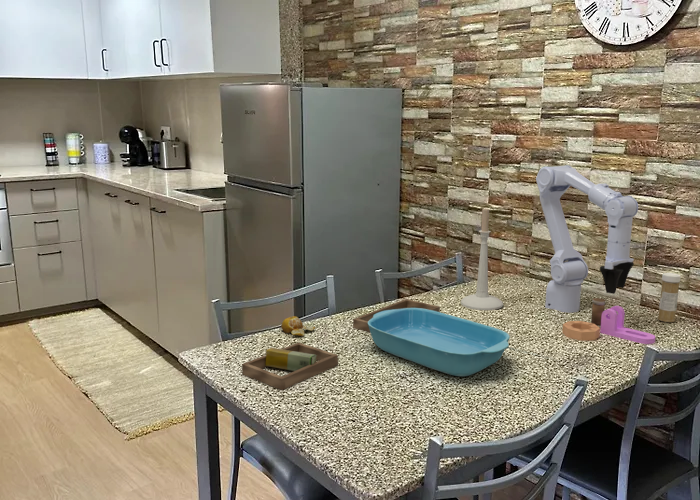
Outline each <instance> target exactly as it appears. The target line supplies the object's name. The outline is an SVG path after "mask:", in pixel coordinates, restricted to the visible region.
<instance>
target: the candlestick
mask: <svg viewBox="0 0 700 500" xmlns="http://www.w3.org/2000/svg"><path fill="white" fill-rule="evenodd" d="M481 212H482V213H481V230H478V232H479V234H480V235H479V238H481V242H480V251H479V260H478V261H479V262H478V269H477V271H478V272H477V282H476V291H475V293H474V294H469V295H466V296H464V297H463V298H461V300H460V305H462V306H463V307H465V308H467V309H470V310H476V311H477V310H478V311H495V310H499V309H501V308H502V307H504V303H503V301H502V300H501V299H500V298H498V297H497V296H494V295H491V294H489V267H488V266H489V265H488V264H489V263H488V262H489V261H488V260H489V258H488V250H489V249H488V248H489V246H488V244H489V243H488V238H489V237H490V233H491V232H492V231H491V230H489V223H490V222H489V218H490V217H489V215H490V209H489V208H482V209H481Z"/></svg>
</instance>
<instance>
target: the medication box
mask: <svg viewBox="0 0 700 500" xmlns="http://www.w3.org/2000/svg"><path fill="white" fill-rule="evenodd" d="M265 355H266V366H268V367H271V368H275V369H281V370H286V371H292V372H294V371H296V370H299V369H301V368H303V367H306V366H308V365H313V364H314V363H315V362H317V360H316V357H317V355H315V354H308V353H302V352H295V351H289V350H283V348H276V347H270V348H267V349H266V350H265Z"/></svg>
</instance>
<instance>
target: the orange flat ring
mask: <svg viewBox="0 0 700 500" xmlns="http://www.w3.org/2000/svg"><path fill="white" fill-rule="evenodd" d="M600 328H601V327H599V326H597V325H595V324H593V323H591V322H587V321H583V320H569V321H568V320H567V321H566V322H565V323H563V324H562V331H561V332H562V334H563V335H564V336H565V337H566V338H567V339H571V340H576V341H581V342H582V341H583V342H584V341H587V342H588V341H596V340H597V339H599V338H600V337H601V335H600V334H601V333H600Z"/></svg>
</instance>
